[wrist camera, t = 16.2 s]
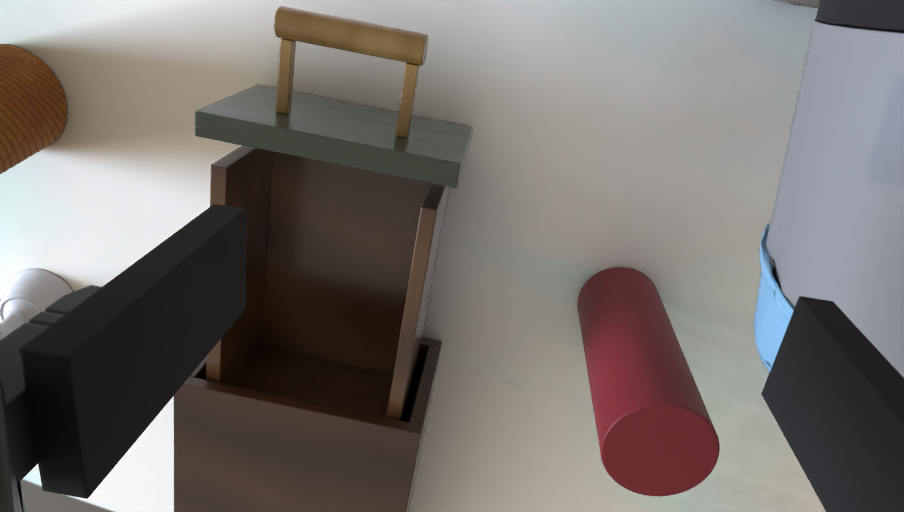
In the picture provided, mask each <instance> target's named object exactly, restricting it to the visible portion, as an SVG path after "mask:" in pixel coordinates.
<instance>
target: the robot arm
mask: <svg viewBox="0 0 904 512" xmlns="http://www.w3.org/2000/svg"><path fill="white" fill-rule="evenodd" d="M775 1H778V2H782V3H786V4H792V5H799V6H806V7H816V8H818V12H817V16H816V19H815V20H814V24H813V28H812V33H811V38H810V42H809V47H808V52H807V56H806V61H805V66H804V70H803V75H802V80H801V85H800V89H799V94H798V99H797V103H796V108H795V113H794V117H793V122H792V127H791V131H790V136H789V141H788V145H787V150H786V155H785V159H784V164H783V169H782V173H781V178H780V183H779V187H778V192H777V197H776V201H775V206H774V211H773V215H772V219H771V223H769V224H767V225H766V227H765V230H764V232H763V235H762V239H761V246H760V249H759V250H760V263H761V268H762V270H761V277H760V284H759V292H758V299H757V305H756V311H755V318H754V331H755V340H756V345H757V348H758V352H759V355H760V358H761V360H762V362H763V364H764V365H765V367H766V368H767V370H768V371H769V372H770V373H769V376H768V378H767V381H766V383H765V386H764V389H763V391H762V396H763V398H764V400H765V401H766V403H767V405H768V407H769V409H770V410H771V412H772V414H773V416H774V418H775V419H776V421H777V423H778V425H779V427H780V429H781V430H782V432H783V434H784V436H785V438H786V439H787V441H788V443H789V445H790V447H791V449H792V450H793V452H794V454H795V456H796V458H797V459H798V461H799V463H800V465H801V467H802V468H803V470H804V472H805V474H806V476H807V478H808V479H809V481H810V483H811V485H812V487H813V488H814V490H815V492H816V494H817V496H818V497H819V499H820V501H821V503H822V505H823V507H824V508H825V510H826V512H904V0H775ZM245 310H246V209H244V208H238V207H231V206H225V205H219V204H214V205H212V206H211V207H210V208H208V209H207V210H206V211H204V212H203V213H202V214H200V215H199V216H197V217H196V218H195V219H193V220H192V221H191V222H189V223H188V224H187V225H185V226H184V227H183V228H181V229H180V230H179V231H177V232H176V233H175V234H173V235H172V236H171V237H169V238H168V239H166V240H165V241H164V242H162V243H161V244H160V245H158V246H157V247H156V248H154V249H153V250H152V251H150V252H149V253H148V254H146V255H145V256H144V257H142V258H141V259H139V260H138V261H137V262H135V263H134V264H133V265H131V266H130V267H129V268H127V269H126V270H125V271H123V272H122V273H121V274H119V275H118V276H117V277H115V278H114V279H113V280H111V281H110V282H108V283H107V284H106V285H104V286H103V287H98V286H92V285H91V286H88V287H85V288H83V289H80V290H77V291H75V292H72V293H69V294H67V295H64V296H63V297H61V298H60V299H59V300H57V301H56V302H54V303H53V304H51V305H50V306H49V307H47V308H46V309H45V312H42V311H41V312H40V313H38V314H37V315H36V316H34V317H33V318H31V319H30V320H29V323H24V324H23V325H21V326H20V327H18V328H17V329H16V330H14V331H13V332H11V333H10V334H8V335H7V336H6V337H4V338H3V339H1V340H0V512H25V505H24V498H23V491H22V486H21V480H22V479H23V478H24V477H25V476H26V475H27V474H28V473H29V472H30V471H31V470H32V469H33V468H34V467H35V466H36V465H37V464H38V465H39V471H40V476H41V482H42V488H43V491H48V492H53V493H59V494H65V495H70V496H76V497H81V498H87V499H88V497H89V496H90V495H91V494H92V493H93V491H94V490H95V489H96V488H97V487H98V485H99V484H100V483H101V482H102V481H103V479H104V478H105V477H106V476H107V475H108V474H109V472H110V471H111V470H112V469H113V468H114V466H115V465H116V464H117V463H118V462H119V460H120V459H121V458H122V457H123V456H124V454H125V453H126V452H127V451H128V450H129V448H130V447H131V446H132V445H133V444H134V442H135V441H136V440H137V439H138V438H139V436H140V435H141V434H142V433H143V432H144V430H145V429H146V428H147V427H148V426H149V424H150V423H151V422H152V421H153V420H154V418H155V417H156V416H157V415H158V414H159V412H160V411H161V410H162V409H163V408H164V406H165V405H166V404H167V403H168V402H169V401H170V399H171V398H172V397H173V396H174V395H175V393H176V392H177V391H178V390H179V389H180V387H181V386H182V385H183V384H184V383H185V381H186V380H187V379H188V378H189V377H190V375H191V374H192V373H193V372H194V371H195V369H196V368H197V367H198V366H199V365H200V363H201V362H202V361H203V360H204V359H205V357H206V356H207V355H208V354H209V353H210V351H211V350H212V349H213V348H214V347H215V345H216V344H217V343H218V342H219V341H220V339H221V338H222V337H223V336H224V335H225V333H226V332H227V331H228V330H229V329H230V328H231V326H232V325H233V324H234V323H235V322H236V320H237V319H238V318H239V317H240V316H241V314H242V313H243V312H244V311H245Z"/></svg>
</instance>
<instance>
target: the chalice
mask: <svg viewBox="0 0 904 512" xmlns="http://www.w3.org/2000/svg"><path fill="white" fill-rule="evenodd" d="M72 292H73V291H72V289H71V288H70V286H69V285H67V284H66V283H65V282H64V281H63V280H62V279H61V278H60V277H58V276H56V275H54V274H53V273H51V272H48V271H45V270H42V269H26V270H23V271H21V272H19V273H18V274H17V275H16V276H14V277H13V279H12V281H11V284H10V286H9V287H8V288H7V290H6V293H5V295H3V297H2V299H1V302H0V315H1V317H2V320H3V321H2V322H1V323H0V340H1V339H3V338H4V337H6V336H7V335H8V334H10V333H11V332H13V331H14V330H16V329H17V328H18V327H20V326H21V325H23V324H24V323H29V320H30V319H31V318H33V317H34V316H36V315H37V314H38V313H40V312H41V311H42V312H45V309H46V308H47V307H49V306H50V305H51V304H53V303H54V302H56V301H57V300H59V299H60V298H61V297H63V296H64V295H67V294H69V293H72Z"/></svg>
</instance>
